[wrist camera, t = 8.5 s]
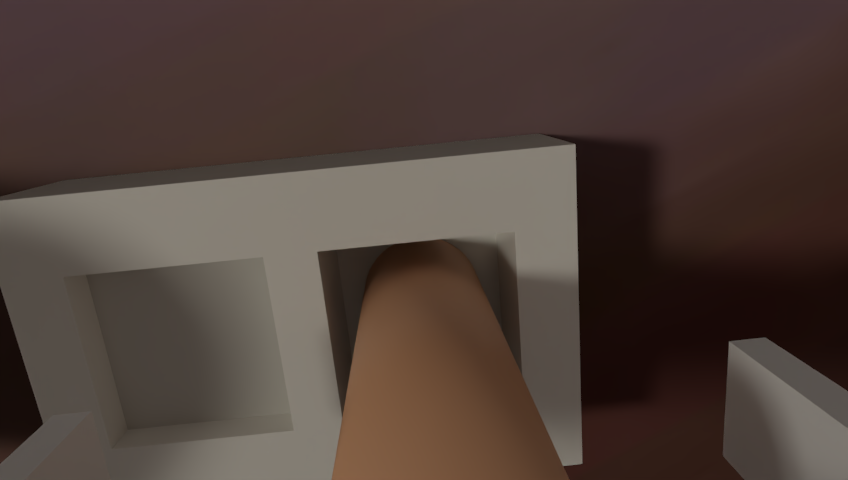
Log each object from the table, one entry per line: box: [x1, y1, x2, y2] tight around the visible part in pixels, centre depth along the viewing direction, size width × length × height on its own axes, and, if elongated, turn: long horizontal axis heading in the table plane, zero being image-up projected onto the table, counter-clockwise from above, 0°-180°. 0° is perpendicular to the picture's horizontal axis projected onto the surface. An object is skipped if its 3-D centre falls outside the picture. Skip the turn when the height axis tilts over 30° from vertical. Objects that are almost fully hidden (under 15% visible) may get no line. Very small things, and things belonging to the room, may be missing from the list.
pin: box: [332, 239, 569, 480], centre depth 12 cm, size 4×4×14 cm
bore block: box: [0, 134, 582, 480], centre depth 18 cm, size 16×10×4 cm, turn 95°
